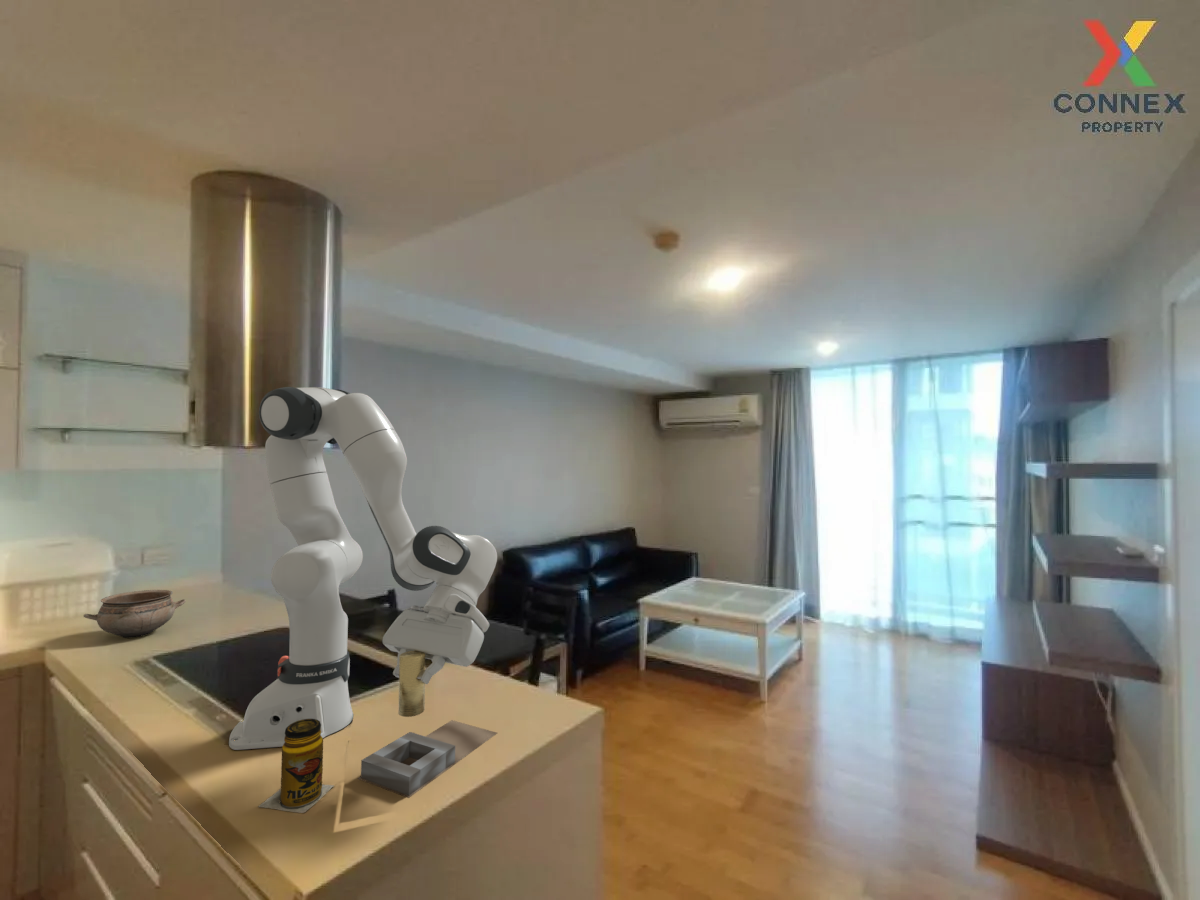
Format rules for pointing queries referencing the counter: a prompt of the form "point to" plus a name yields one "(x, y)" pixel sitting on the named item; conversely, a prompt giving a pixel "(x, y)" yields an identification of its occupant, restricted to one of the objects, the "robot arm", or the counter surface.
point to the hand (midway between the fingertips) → (409, 679)
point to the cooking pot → (135, 612)
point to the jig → (421, 757)
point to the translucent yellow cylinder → (411, 684)
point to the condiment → (300, 768)
